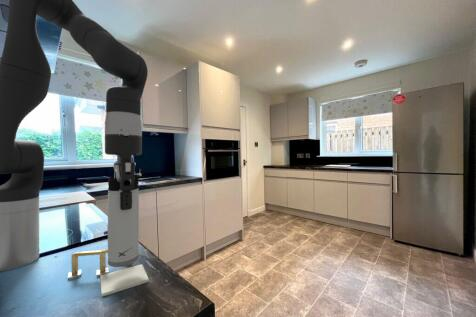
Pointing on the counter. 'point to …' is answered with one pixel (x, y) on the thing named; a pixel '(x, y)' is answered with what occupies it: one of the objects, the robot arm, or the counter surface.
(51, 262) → the counter surface
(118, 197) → the travel mug
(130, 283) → the coaster
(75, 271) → the gold barrier railing
